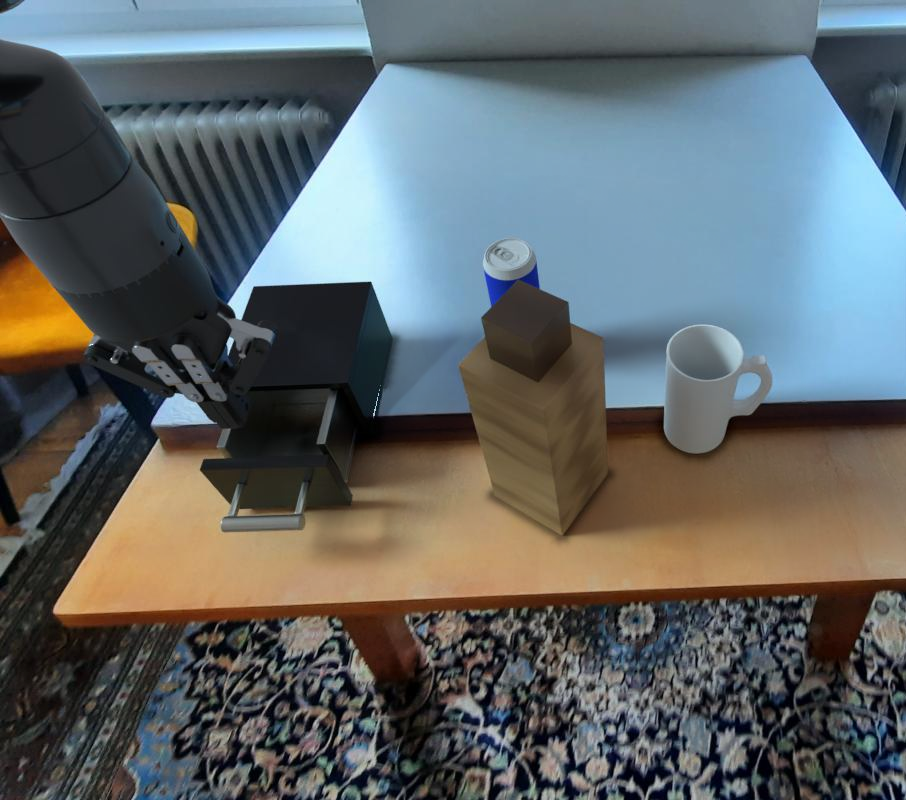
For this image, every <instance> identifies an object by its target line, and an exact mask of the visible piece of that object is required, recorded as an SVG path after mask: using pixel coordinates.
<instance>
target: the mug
mask: <svg viewBox="0 0 906 800" xmlns="http://www.w3.org/2000/svg"><path fill="white" fill-rule="evenodd" d="M665 353H666V360H665V380H664V381H665V383H664V402H663V404H664V407H663V409H664V410H663V431H664V435H665V437H666V439H667V440H668V442H669V443H670V444H671V445H672V446H673V447H675V448H676V449H678V450H680V451H682V452H684V453H687V454H704V453H708V452H711V451H713V450H714V449H716V448H717V447H718V446H719V445H720V444H721V443H722V442H723V440H724V438H725V435H726V431H727V427H728V425H729V422H730V421H729V420H730V419H731V418H733V417H737V416H738V417H739V416H750V415H752V414H753V413H754V412H755V411H756V410H757V409H758V407H759V406H760V405H761V404H762V402H764V400H765V399H766V398H767V397H768V395H769V393H770V392H771V390H772V387H773V374H772V370H771V369H770V366H769V365H768V363H767V358H766V357H767V356H765V355H754V356H752V357H750V358H744V357H745V352H744V348H743V345H742V343H741V342H740V340H739V339H738V337H736V336H735V335H734V334H733V332H730V331H729V330H727V329H725V328H722V327H720V326H717V325H714V324H713V325H712V324H704V323H703V324H700V323H699V324H693V325H689V326H686V327H683V328H682V329H680V330H678V331H676V332H675V333H674V334H673V335H672V336H671V338H670V339H669V340H668V343H667V345H666V350H665ZM750 373H751V374H755V375H757V376H758V377H759V378H760V384H759V386H758V388H757V389H756V391H754V393H753V394H751V395H750V396H747V397H745V398H743V399H735V395H736V390H737V387H738V383H739V379H740V377H741V376H742V375H744V374H750Z"/></svg>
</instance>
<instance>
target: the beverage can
mask: <svg viewBox="0 0 906 800" xmlns="http://www.w3.org/2000/svg"><path fill="white" fill-rule="evenodd" d="M482 268H483V273H484V278H485V283H486V288H487V293H488V297H489V302H490V308H491V307H492V306H493V305H494V304H495V303H496V302H497V301H498V300H499V299H500V298H501V297H502V296H503V295H504V294H505V293H506V292H507V291H508V290H509V289H510V288H511V287H512V286H513V285H514V283H515V282H516V281H517V280H520V281H523V282H525V283H527V284H529V285H532V286H534V287H536V288H538V289H541V286H540V279H539V277H540V276H539V269H538V262H537V256H536V254H535V252H534V250H533V248H532V246H531V245H530V244H529V243H528V242H527V241H526V240H524V239H521V238H516V237H506V238H501V239H498V240H496V241H494V242H493V243H491V244H490V245H489V246H488V247H487V248H486V250H485V253H484V256H483V260H482Z"/></svg>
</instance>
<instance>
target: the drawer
mask: <svg viewBox="0 0 906 800" xmlns="http://www.w3.org/2000/svg"><path fill="white" fill-rule="evenodd" d="M246 396H247V397H248V399H249V400H250V402H251V409H250V412H249V415H248V418H247V421H246V422H244V425H243V427H242V428H232V429H221V430H222V431H221V434H220V437H219V439H218V442H217V445H216V448H217V450H218V451H219V452H220V454H221V455H222V456H223V458H219V457H217V458H202V459H203V460H202V461H201V465H200V467H199V472H201V473H202V475H203V477H205V478H206V480H207V481H209V483H210V484H211V485H212V486H213V487H214V488H215V490H216V491H217V492H218V493H219V494H220V495H221V496H222V498H224V500H225V501H226V502H227V503H228V504H229V505H230V506H229V510H228V513H227V516H223V517H222V518H221V520H220V530H221V532H222V533H225V534H227V533H258V532H261V533H263V532H290V531H291V532H292V531H293V532H295V531H303V530H304V529H305V527H306V516H305V515H304V514H305V511H306V508H326V507H327V508H328V507H329V508H331V507H351V506H352V502H353V498H354V497H353V496H354V495H353V493H352V491H351V489H350V488H349V486H348V484H347V483H348V481H349V476H350V472H351V467H352V462H353V458H354V454H355V453H354V452H355V447H356V444H357V439H358V437H357V434H358V429H359V425H360V423H359V421H358V419H357V417H356V415H355V413H354V411H353V409H352V407H351V405H350V403H349V401H348V399H347V397H346V395H345V393H344V391H343V389H342V388H332V389H304V390H277V391H249V392H248V393H247V394H246ZM293 508H295V510H294V514H293V513H292V514H264V515H263V514H261V515H239V512H240V510H262V509H264V510H267V509H293Z"/></svg>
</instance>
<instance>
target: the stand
mask: <svg viewBox="0 0 906 800" xmlns="http://www.w3.org/2000/svg"><path fill="white" fill-rule="evenodd" d="M570 325H571V337H572V344H571V345H570V346H569V347H568V349H567V350H566V351H565V352H564V353H563V354H562V356H561V357H560V358H559V359H558V360H557V361H556V363H555V364H554V365H553V366H552V367H551V368H550V370H549V371H548V372H547V373H546V374H545V375H544V376H543V378H542V379H541V380H540V381H539V382H536V381H534V380H532V379H530V378H528V377H526V376H524V375H522V374H520V373H518V372H516V371H514V370H512V369H510V368H508V367H506V366H504V365H502V364H500V363H498V362H496V361H494V360H492V359H490V356H489V351H488V347H487V343H486V338H485V336H484V337H483V338H482V339H480V341H479V342H478V343H477V344H476V345H475V347H473V348H472V350H470V352H468V354H467V355H465V357H464V358H463V359H462V360H461V361H460V362H459V363H457V367H458V371H459V375H460V378H461V381H462V385H463V388H464V391H465V394H466V398H467V403H468V406H469V410H470V412H471V416H472V421H473V424H474V428H475V431H476V434H477V437H478V442H479V445H480V448H481V451H482V456H483V459H484V463H485V466H486V470H487V473H488V477H489V480H490V483H491V487H492V491H493V494H494V497H496V498H498V499H499V500H501V501H502V502H504V503H506V504H507V505H509V506H511V507H513V508H514V509H516V510H518V511H520V512H521V513H523V514H525V515H526V516H528V517H529V518H531V519H533V520H535V521H536V522H538V523H540V524H541V525H543V526H545V527H546V528H548V529H550V530H552V531H554V532H555V533H557V534H558V535H559V536H564V534H565V533H566V531H568V529H569V528H570V527H571V525H572V523H573V522H574V521H575V519H576V518H577V516H578V515H579V514H580V512H581V511H582V510H583V508H584V507H585V505H586V504H587V503H588V501H589V500H590V499H591V497H592V496H593V495H594V493H595V492H596V491H597V490H598V488H599V486H600V485H601V484H602V483H603V481H604V480H605V479H606V477H607V475H608V474H609V466H608V463H609V462H608V435H607V432H608V431H607V408H606V407H607V404H606V403H607V401H606V375H605V374H606V373H605V372H606V371H605V370H606V369H605V343H604V342H605V340H604V339H605V337H602V336H600V335H598V334H596V333H594V332H592V331H590V330H588V329H586V328H584V327H583V328H582V327H581V326H578V325H576V324H574V323H572V322H570Z"/></svg>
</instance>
